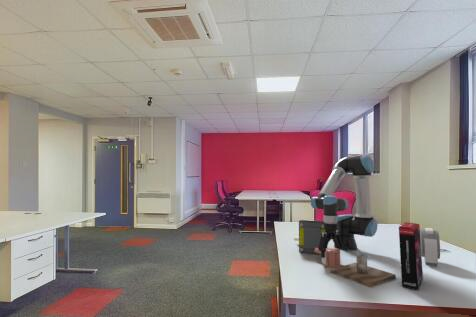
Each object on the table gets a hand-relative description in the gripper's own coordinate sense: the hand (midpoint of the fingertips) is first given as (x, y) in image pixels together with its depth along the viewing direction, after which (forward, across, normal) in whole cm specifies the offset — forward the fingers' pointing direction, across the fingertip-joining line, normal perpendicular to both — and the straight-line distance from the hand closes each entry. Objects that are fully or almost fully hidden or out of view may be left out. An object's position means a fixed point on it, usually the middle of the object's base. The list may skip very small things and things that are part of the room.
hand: (331, 261), depth 152 cm
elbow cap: (+2, 0, +3) cm, 3 cm away
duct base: (+2, 0, -19) cm, 19 cm away
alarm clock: (+2, +52, -29) cm, 60 cm away
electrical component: (+2, +11, +23) cm, 26 cm away
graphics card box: (+2, +10, -38) cm, 39 cm away
